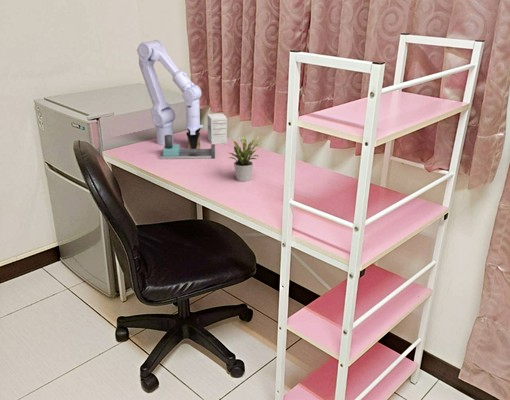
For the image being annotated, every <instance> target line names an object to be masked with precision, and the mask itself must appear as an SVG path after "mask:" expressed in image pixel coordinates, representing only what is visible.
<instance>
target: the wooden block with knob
mask: <svg viewBox="0 0 510 400" xmlns="http://www.w3.org/2000/svg"><path fill="white" fill-rule="evenodd" d="M187 149H192V148H191V145H190V141H189V138H188V137H187ZM196 149H201V134H200V135H199V137H198V141H197V148H196Z"/></svg>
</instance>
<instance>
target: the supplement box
mask: <svg viewBox="0 0 510 400" xmlns="http://www.w3.org/2000/svg"><path fill="white" fill-rule="evenodd" d="M206 116H207V117H206V118H207V141H209V142H210V144H215V145H216V144H220V145H219V146H224V144H227V145H228V118H227V116H226V115H225V114H224V113H222V112H220V113H208V114H206Z"/></svg>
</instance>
